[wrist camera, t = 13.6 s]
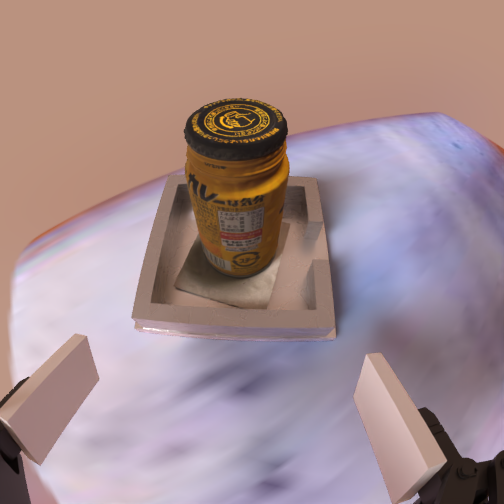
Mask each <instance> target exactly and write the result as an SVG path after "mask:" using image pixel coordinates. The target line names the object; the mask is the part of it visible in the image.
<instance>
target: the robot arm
mask: <svg viewBox="0 0 504 504" xmlns="http://www.w3.org/2000/svg"><path fill="white" fill-rule="evenodd" d="M98 381H99V376H98V373H97V370H96V367H95V363H94V360H93V357H92V353H91V350H90V346H89V343H88V339H87V336H84V335H80V334H74V335H73V336H72V337H71V338H70V339H69V340H68V341H67V342H66V343H65V344H64V345H62V346H61V347H60V348H59V349H58V350H57V351H56V352H55V353H54V354H53V355H52V356H51V357H50V358H49V359H48V360H47V361H46V362H45V363H44V364H43V365H42V366H41V367H40V368H39V369H38V370H37V371H36V372H35V373H34V374H33V375H32V376H31V377H27V378H25V379H23V380H22V381H20V382H19V383H18V384H17V385H16V386H15V387H14V389H12V390H11V391H10V392H9V394H7V395H6V397H4V398H3V399H2V401H1V402H0V504H31V502H30V498H29V493H28V489H27V484H26V480H25V474H24V467H23V461H22V457H21V455H20V454H19V453H20V451H21V450H22V451H23V452H24V454H25V455H26V456H27V457H28V458H29V459H30V460H32V461H34V462H35V463H37V464H39V465H40V466H41V464H42V463H43V461H44V460H45V458H46V456H47V455H48V453H49V452H50V450H51V449H52V447H53V446H54V444H55V443H56V441H57V439H58V438H59V436H60V435H61V433H62V432H63V430H64V429H65V428H66V426H67V425H68V423H69V422H70V420H71V419H72V417H73V416H74V414H75V413H76V411H77V410H78V409H79V407H80V406H81V404H82V403H83V401H84V400H85V399H86V397H87V396H88V394H89V393H90V392H91V390H92V389H93V387H94V386H95V385H96V383H97V382H98ZM353 399H354V402H355V404H356V407H357V409H358V412H359V414H360V417H361V419H362V422H363V424H364V427H365V430H366V432H367V435H368V437H369V440H370V443H371V445H372V448H373V451H374V453H375V456H376V459H377V462H378V464H379V467H380V470H381V473H382V475H383V478H384V481H385V484H386V487H387V490H388V493H389V496H390V499H391V502H392V504H398V503H401V502H404V501H406V500H409V499H411V498H412V497H413V496H414V495H415V494H416V493H417V492H418V494H419V496H420V498H419V499H417V500H416V501H415V502H414V503H413V504H504V450H503V451H501V452H500V453H498V454H497V455H496V457H495V458H494V459H493V460H489V461H484V462H479V463H476V462H475V461H474V460H473V459H470V458H462V457H461V456H460V454H459V453H458V451H457V449H456V448H455V446H454V444H453V443H452V441H451V439H450V438H449V436H448V435H447V433H446V431H445V432H444V428H443V427H442V425H440V422H439V420H438V419H437V417H436V416H435V414H434V413H432V412H431V411H430V410H428V409H427V408H426V407H424V408H421V409H417V408H416V406H415V405H414V403H413V402H412V400H411V398H410V397H409V395H408V394H407V392H406V390H405V389H404V387H403V386H402V384H401V382H400V381H399V379H398V378H397V376H396V375H395V373H394V372H393V370H392V369H391V367H390V366H389V364H388V362H387V361H386V359H385V358H384V356H383V355H382V353H370V354H366V357H365V360H364V364H363V367H362V370H361V374H360V377H359V380H358V383H357V386H356V389H355V392H354V395H353ZM488 496H489V501H488Z"/></svg>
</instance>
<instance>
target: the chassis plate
mask: <svg viewBox="0 0 504 504" xmlns="http://www.w3.org/2000/svg"><path fill="white" fill-rule="evenodd" d="M282 222H285V223H290V228H289V232H288V235H287V239H286V243H285V246H284V250H283V254H282V257H281V261H280V265H279V268H278V272H277V275H276V279H275V282H274V285H273V289H272V293H271V296H270V300H269V303H268V307H267V310H263V309H244V308H241V307H237V306H234V305H230V304H225V303H223V302H220V301H216V300H213V299H210V298H206V297H203V296H201V295H197V294H194V293H191V292H188V291H185V290H183V289H180V288H177V287H174V286H173V285H174V283H175V281H176V279H177V276H178V274H179V272H180V270H181V268H182V266H183V264H184V262H185V260H186V258H187V256H188V253H189V251H190V249H191V247H192V245H193V243H194V241H195V239H196V237H197V235H198V233H199V231H198V228H197V224H196V220H195V215H194V212H193V207H192V202H191V198H190V194H189V190H188V186H187V181H186V176H185V175H169V176H168V179H167V181H166V185H165V188H164V191H163V194H162V197H161V200H160V203H159V207H158V210H157V213H156V217H155V220H154V224H153V227H152V231H151V234H150V238H149V242H148V246H147V249H146V253H145V257H144V261H143V266H142V270H141V274H140V278H139V283H138V288H137V292H136V297H135V302H134V307H133V312H132V319H133V320H134V321H136V322H135V329H136V330H137V331H139V332H144V333H152V334H161V335H170V336H180V337H192V338H204V339H219V340H239V341H279V342H297V341H333V340H334V339H335V338H336V329H335V315H334V303H333V292H332V283H331V273H330V265H329V257H328V249H327V242H326V235H325V228H324V221H323V214H322V208H321V202H320V196H319V190H318V184H317V179H316V178H310V177H294V176H288V183H287V189H286V195H285V201H284V207H283V218H282ZM249 280H250V279H249ZM243 284H244V283H243Z"/></svg>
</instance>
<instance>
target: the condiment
mask: <svg viewBox="0 0 504 504" xmlns="http://www.w3.org/2000/svg"><path fill="white" fill-rule="evenodd" d="M287 132H288V128H287V121H286V119H285V118H284V117H283V114H282V113H281V112H280V111H279V110H278V109H276V108H275V107H273V106H271V105H269V104H266V103H264V102H261V101H258V100H252V99H242V98H236V99H224V100H219V101H217V102H213V103H210V104H207V105H205V106H203V107H201V108H200V109H199V110H197V111H195V112H194V113H193V114H192V115H191V116H190V117H189V118H188V120H187V123H186V127H185V129H184V133H185V139H186V141H187V143H188V146H187V153H186V156H187V158H188V159H187V162H186V164H185V176H186V181H187V186H188V190H189V194H190V198H191V202H192V207H193V212H194V215H195V220H196V224H197V228H198V231H199V233H198V235H197V237H196V239H195V241H194V243H193V245H192V247H191V249H190V251H189V253H188V256H187V258H186V260H185V262H184V264H183V266H182V268H181V270H180V272H179V274H178V276H177V279H176V281H175V283H174V285H173V286H174V287H177V288H180V289H183V290H185V291H188V292H191V293H194V294H197V295H201V296H203V297H206V298H210V299H213V300H216V301H220V302H223V303H225V304H230V305H234V306H237V307H241V308H244V309H263V310H267V307H268V303H269V300H270V296H271V293H272V289H273V285H274V282H275V279H276V275H277V272H278V268H279V265H280V261H281V257H282V254H283V250H284V246H285V243H286V239H287V235H288V232H289V228H290V223H285V222H282V218H283V207H284V201H285V195H286V189H287V183H288V176H289V169H290V167H289V161H288V157H287V154H286V149H287V144H286V135H287V134H288V133H287ZM249 279H250V280H249ZM243 283H244V284H243Z"/></svg>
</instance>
